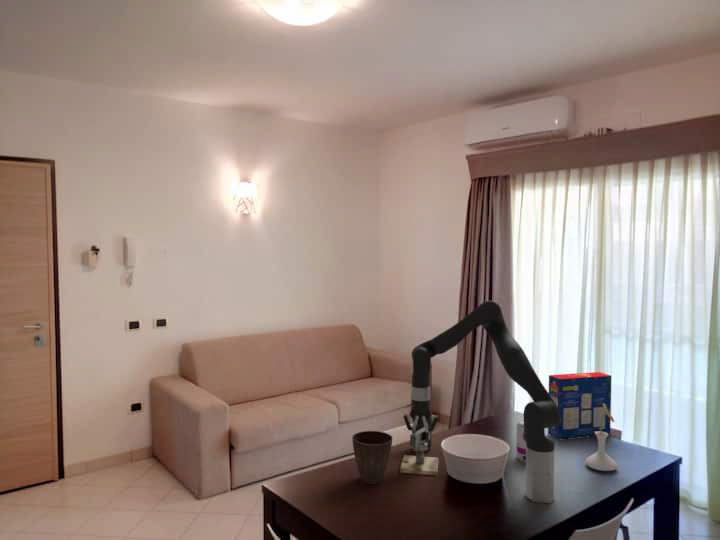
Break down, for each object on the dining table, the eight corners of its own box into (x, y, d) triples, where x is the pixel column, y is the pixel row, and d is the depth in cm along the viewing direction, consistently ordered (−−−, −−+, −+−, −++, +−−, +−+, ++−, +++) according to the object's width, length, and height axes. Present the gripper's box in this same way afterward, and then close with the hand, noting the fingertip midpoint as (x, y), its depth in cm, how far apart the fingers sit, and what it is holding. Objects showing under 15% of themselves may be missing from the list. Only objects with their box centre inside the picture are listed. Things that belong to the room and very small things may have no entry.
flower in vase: (613, 476, 199) (614, 411, 199) (581, 469, 206) (583, 405, 205) (620, 465, 210) (621, 403, 209) (590, 459, 216) (591, 398, 216)
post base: (438, 461, 213) (438, 444, 213) (437, 475, 199) (437, 457, 199) (404, 458, 215) (404, 442, 215) (400, 472, 202) (400, 454, 201)
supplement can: (540, 463, 212) (540, 426, 211) (519, 462, 212) (520, 425, 212) (533, 455, 220) (534, 419, 220) (514, 455, 220) (514, 419, 220)
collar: (420, 442, 214) (420, 426, 214) (433, 446, 210) (434, 428, 210) (405, 451, 204) (406, 434, 204) (419, 455, 200) (419, 437, 200)
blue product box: (598, 429, 254) (599, 372, 253) (610, 435, 246) (611, 375, 245) (548, 434, 246) (548, 375, 246) (558, 440, 239) (559, 379, 238)
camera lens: (431, 446, 230) (431, 412, 229) (431, 453, 222) (432, 418, 221) (412, 445, 230) (412, 411, 230) (412, 452, 222) (412, 417, 222)
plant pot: (364, 468, 205) (365, 428, 204) (399, 477, 197) (399, 435, 197) (344, 482, 192) (344, 439, 192) (379, 492, 184) (380, 447, 184)
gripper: (438, 395, 209) (438, 438, 210) (403, 394, 211) (402, 436, 212) (439, 401, 202) (438, 445, 202) (402, 399, 204) (401, 443, 204)
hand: (420, 440), depth 207 cm, fingers closed on collar, 3 cm apart
